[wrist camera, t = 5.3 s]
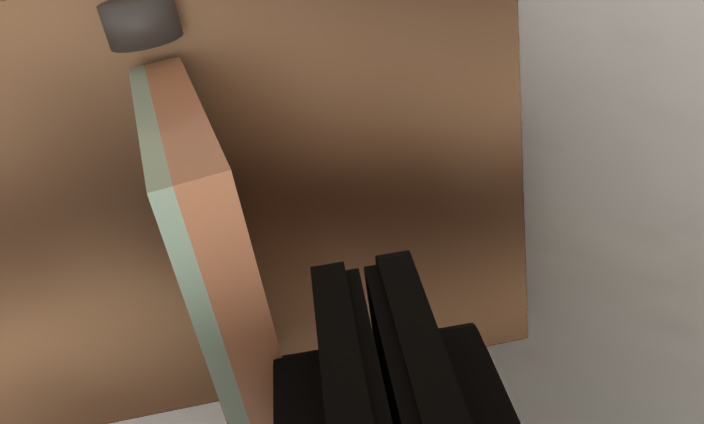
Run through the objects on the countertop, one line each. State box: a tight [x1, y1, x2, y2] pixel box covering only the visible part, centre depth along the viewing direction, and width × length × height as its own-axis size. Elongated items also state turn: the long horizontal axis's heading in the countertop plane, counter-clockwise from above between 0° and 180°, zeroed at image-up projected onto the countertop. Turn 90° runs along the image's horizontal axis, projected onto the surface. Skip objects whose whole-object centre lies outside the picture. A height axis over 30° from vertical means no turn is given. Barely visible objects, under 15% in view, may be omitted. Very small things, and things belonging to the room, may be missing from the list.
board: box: [0, 0, 528, 424], centre depth 15 cm, size 11×15×2 cm
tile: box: [128, 56, 282, 424], centre depth 12 cm, size 8×7×1 cm
